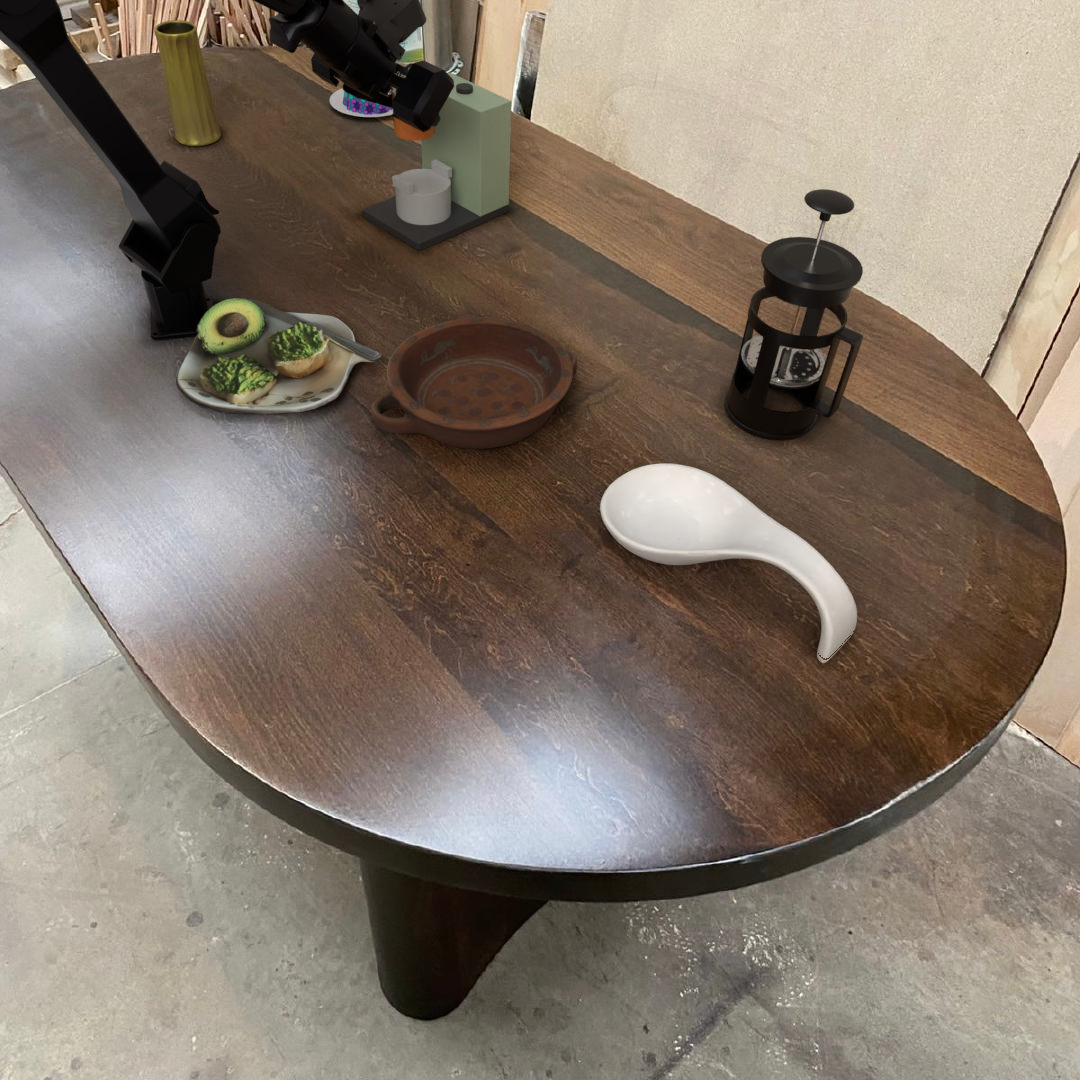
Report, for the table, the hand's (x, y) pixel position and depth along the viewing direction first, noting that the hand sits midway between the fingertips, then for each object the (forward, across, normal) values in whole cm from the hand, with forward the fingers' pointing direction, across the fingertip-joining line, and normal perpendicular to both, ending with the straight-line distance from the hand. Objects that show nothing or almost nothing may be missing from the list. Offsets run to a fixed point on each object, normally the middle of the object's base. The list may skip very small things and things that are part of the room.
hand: (423, 115), depth 112 cm
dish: (-5, -32, +24) cm, 41 cm away
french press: (+10, -53, +9) cm, 54 cm away
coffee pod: (0, 0, +2) cm, 2 cm away
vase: (+3, +38, +16) cm, 41 cm away
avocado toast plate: (-14, -13, +32) cm, 37 cm away
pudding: (+20, +31, -2) cm, 37 cm away
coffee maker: (+10, 0, +8) cm, 13 cm away
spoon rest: (-5, -62, +24) cm, 67 cm away
